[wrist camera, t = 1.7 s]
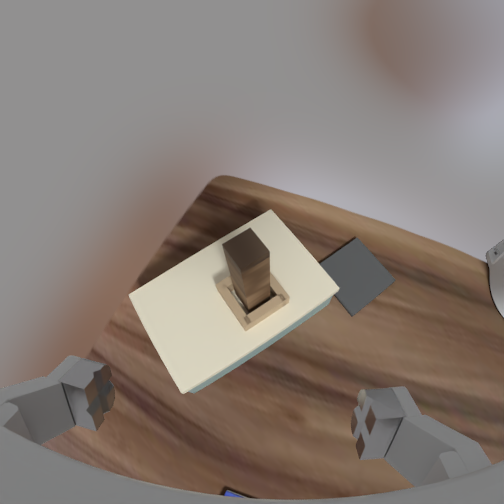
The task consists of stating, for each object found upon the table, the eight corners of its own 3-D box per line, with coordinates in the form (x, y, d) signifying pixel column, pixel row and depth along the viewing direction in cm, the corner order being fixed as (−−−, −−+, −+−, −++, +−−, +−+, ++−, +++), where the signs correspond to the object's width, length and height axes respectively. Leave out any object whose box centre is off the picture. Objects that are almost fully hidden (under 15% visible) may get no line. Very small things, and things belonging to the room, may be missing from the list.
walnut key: (256, 281, 39) (250, 227, 29) (270, 299, 38) (269, 251, 27) (235, 294, 39) (221, 244, 28) (249, 313, 37) (240, 269, 27)
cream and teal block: (271, 232, 50) (270, 200, 43) (331, 304, 43) (342, 281, 36) (144, 309, 44) (122, 288, 37) (193, 396, 38) (176, 392, 31)
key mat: (356, 239, 48) (357, 237, 48) (394, 281, 44) (395, 280, 44) (312, 269, 46) (313, 268, 46) (351, 316, 42) (352, 315, 42)
